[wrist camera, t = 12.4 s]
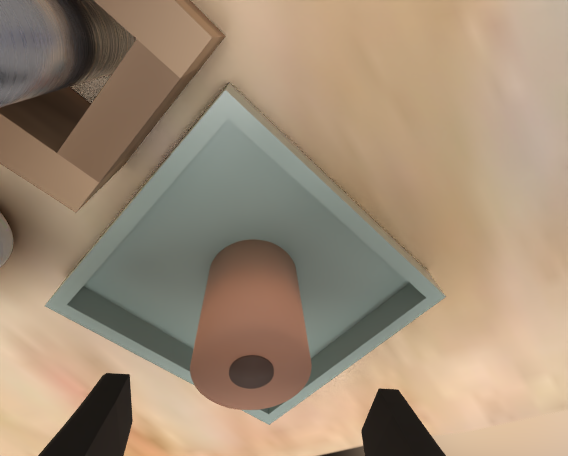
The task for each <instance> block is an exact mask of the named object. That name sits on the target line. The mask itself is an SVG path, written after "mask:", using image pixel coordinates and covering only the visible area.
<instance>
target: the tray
mask: <svg viewBox="0 0 568 456" xmlns="http://www.w3.org/2000/svg"><path fill="white" fill-rule="evenodd" d="M251 239H256V240H264V241H268V242H271V243H273V244H275V245H278V246H279V247H281V248H282V249H283V250H285V251H286V252H287V253H288V254H289V255H290V257H291V258H292V260H293V262H294V264H295V267H296V272H297V278H298V284H299V290H300V297H301V303H302V309H303V315H304V321H305V327H306V333H307V339H308V345H309V351H310V358H311V364H312V367H311V374H310V377H309V380H308V382H307V383H306V385H305V386H304V388H303V389H302V390H301V391H300V392H299V393H298V394H297V395H295V396H294V397H293V398H291V399H289V400H288V401H286V402H284V403H281V404H279V405H276V406H273V407H270V408H265V409H259V410H242V411H244V412H246V413H248V414H250V415H252V416H254V417H256V418H257V419H259V420H261V421H263V422H265V423H267V424H269V425H270V424H271V423H272V422H274V421H275V420H276V419H278V418H279V417H281V416H282V415H283V414H285V413H286V412H288V411H289V410H290V409H292V408H293V407H294V406H296V405H297V404H299V403H300V402H301V401H303V400H304V399H305V398H307V397H308V396H310V395H311V394H312V393H314V392H315V391H317V390H318V389H319V388H321V387H322V386H323V385H325V384H326V383H328V382H329V381H330V380H332V379H333V378H334V377H336V376H337V375H339V374H340V373H341V372H343V371H344V370H346V369H347V368H348V367H350V366H351V365H352V364H354V363H355V362H357V361H358V360H359V359H361V358H362V357H363V356H365V355H366V354H368V353H369V352H370V351H372V350H373V349H375V348H376V347H377V346H379V345H380V344H381V343H383V342H384V341H386V340H387V339H388V338H390V337H391V336H392V335H394V334H395V333H397V332H398V331H399V330H401V329H402V328H403V327H405V326H406V325H408V324H409V323H410V322H412V321H413V320H415V319H416V318H417V317H419V316H420V315H421V314H423V313H424V312H426V311H427V310H428V309H430V308H431V307H432V306H434V305H435V304H437V303H438V302H439V301H441V300H442V299H444V298H445V297H446V296H445V295H444V293H443V292H442V290H441V289H440V288H439V286H438V285H437V283H436V282H435V281H434V279H433V278H432V276H431V275H430V274H429V272H428V271H427V270H426V269H425V268H424V267H423V266H421V265H420V264H419V263H418V262H417V261H416V260H415V259H414V258H413V257H412V256H411V255H410V254H409V253H408V252H407V251H406V250H405V249H404V248H403V247H402V246H400V245H399V244H398V243H397V242H396V241H395V240H394V239H393V238H392V237H391V236H390V235H389V234H388V233H387V232H386V231H385V230H384V229H383V228H382V227H381V226H379V225H378V224H377V223H376V222H375V221H374V220H373V219H372V218H371V217H370V216H369V215H368V214H367V213H366V212H365V211H364V210H363V209H362V208H361V207H360V206H358V205H357V204H356V203H355V202H354V201H353V200H352V199H351V198H350V197H349V196H348V195H347V194H346V193H345V192H344V191H343V190H342V189H341V188H340V187H338V186H337V185H336V184H335V183H334V182H333V181H332V180H331V179H330V178H329V177H328V176H327V175H326V174H325V173H324V172H323V171H322V170H321V169H320V168H319V167H317V166H316V165H315V164H314V163H313V162H312V161H311V160H310V159H309V158H308V157H307V156H306V155H305V154H304V153H303V152H302V151H301V150H300V149H299V148H298V147H296V146H295V145H294V144H293V143H292V142H291V141H290V140H289V139H288V138H287V137H286V136H285V135H284V134H283V133H282V132H281V131H280V130H279V129H278V128H277V127H275V126H274V125H273V124H272V123H271V122H270V121H269V120H268V119H267V118H266V117H265V116H264V115H263V114H262V113H261V112H260V111H259V110H258V109H257V108H255V107H254V106H253V105H252V104H251V103H250V102H249V101H248V100H247V99H246V98H245V97H244V96H243V95H242V94H241V93H240V92H239V91H238V90H237V89H236V88H234V87H233V86H232V85H231V84H230V83H229V84H228V85H227V86H226V87H225V88H224V90H223V91H222V92H221V93H220V94H219V96H218V97H217V98H216V99H215V100H214V102H213V103H212V104H211V105H210V106H209V108H208V109H207V110H206V111H205V112H204V114H203V115H202V116H201V117H200V118H199V120H198V121H197V122H196V123H195V124H194V126H193V127H192V128H191V129H190V130H189V132H188V133H187V134H186V135H185V136H184V138H183V139H182V140H181V141H180V142H179V143H178V145H177V146H176V147H175V148H174V149H173V151H172V152H171V153H170V154H169V155H168V157H167V158H166V159H165V160H164V161H163V163H162V164H161V165H160V166H159V167H158V169H157V170H156V171H155V172H154V173H153V175H152V176H151V177H150V178H149V179H148V181H147V182H146V183H145V184H144V185H143V187H142V188H141V189H140V190H139V191H138V193H137V194H136V195H135V196H134V197H133V199H132V200H131V201H130V202H129V203H128V205H127V206H126V207H125V208H124V209H123V211H122V212H121V213H120V214H119V215H118V217H117V218H116V219H115V220H114V221H113V223H112V224H111V225H110V226H109V227H108V229H107V230H106V231H105V232H104V233H103V235H102V236H101V237H100V238H99V239H98V241H97V242H96V243H95V244H94V245H93V247H92V248H91V249H90V250H89V251H88V253H87V254H86V255H85V256H84V257H83V259H82V260H81V261H80V262H79V263H78V265H77V266H76V267H75V268H74V269H73V271H72V272H71V273H70V274H69V275H68V277H67V278H66V279H65V280H64V282H63V283H62V284H61V286H60V287H59V288H58V289H57V291H56V292H55V293H54V295H53V296H52V297H51V298H50V300H49V301H48V302H47V304H46V305H45V306H46V307H47V308H49V309H51V310H53V311H55V312H57V313H59V314H61V315H63V316H64V317H66V318H68V319H70V320H72V321H74V322H76V323H78V324H80V325H81V326H83V327H85V328H87V329H89V330H91V331H93V332H95V333H97V334H99V335H100V336H102V337H104V338H106V339H108V340H110V341H112V342H114V343H116V344H117V345H119V346H121V347H123V348H125V349H127V350H129V351H131V352H133V353H134V354H136V355H138V356H140V357H142V358H144V359H146V360H148V361H150V362H151V363H153V364H155V365H157V366H159V367H161V368H163V369H165V370H167V371H168V372H170V373H172V374H174V375H176V376H178V377H180V378H182V379H184V380H186V381H187V382H189V383H191V384H193V385H194V383H193V381H192V378H191V374H190V364H191V359H192V354H193V349H194V344H195V339H196V334H197V329H198V324H199V320H200V315H201V310H202V305H203V300H204V295H205V290H206V285H207V280H208V275H209V270H210V266H211V263H212V261H213V260H214V258H215V257H216V255H217V254H218V253H219V252H220V251H221V250H223V249H224V248H225V247H227V246H229V245H231V244H233V243H235V242H238V241H242V240H251Z"/></svg>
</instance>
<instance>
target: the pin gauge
mask: <svg viewBox="0 0 568 456" xmlns="http://www.w3.org/2000/svg"><path fill="white" fill-rule="evenodd" d="M133 44H134V36H133V35H132V34H131V33H129V32H128V31H127V30H126V29H125V28H124V27H123V26H122V25H121V24H119V23H118V22H117V21H116V20H115V19H114V18H113V17H112V16H111V15H109V14H108V13H107V12H106V11H105V10H104V9H103V8H102V7H101V6H99V5H98V4H97V3H96V2H95V1H94V0H0V107H3V106H6V105H10V104H13V103H17V102H20V101H23V100H27V99H30V98H33V97H37V96H40V95H43V94H47V93H50V92H54V91H57V90H60V89H64V88H67V87H70V86H74V85H77V84H81V83H84V82H87V81H91V80H94V79H97V78H101V77H104V76H107V75H111V74H113V72H114V71H115V70H116V68H117V67H118V65H119V64H120V62H121V61H122V60H123V58H124V57H125V55H126V54H127V52H128V51H129V50H130V48H131V47H132V45H133Z"/></svg>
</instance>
